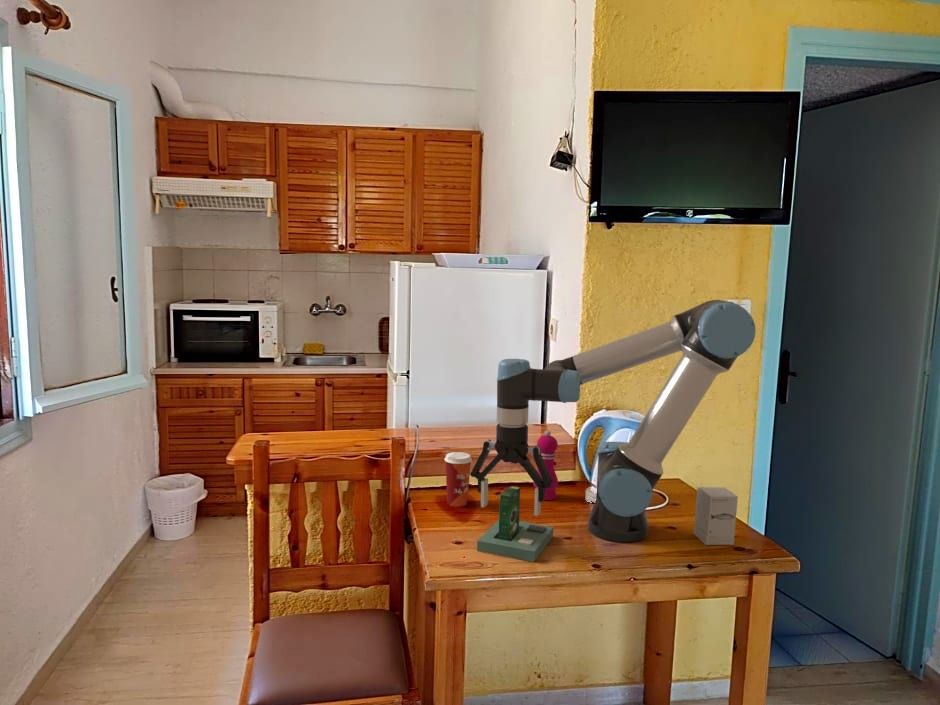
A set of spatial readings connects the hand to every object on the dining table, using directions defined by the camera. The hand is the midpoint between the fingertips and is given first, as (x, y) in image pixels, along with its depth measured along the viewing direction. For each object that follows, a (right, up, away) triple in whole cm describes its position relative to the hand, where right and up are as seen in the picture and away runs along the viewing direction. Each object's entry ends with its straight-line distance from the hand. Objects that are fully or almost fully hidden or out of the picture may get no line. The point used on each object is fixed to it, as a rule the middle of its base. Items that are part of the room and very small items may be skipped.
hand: (510, 509), depth 162 cm
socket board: (+1, -8, 0) cm, 8 cm away
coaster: (+28, -5, +31) cm, 43 cm away
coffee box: (0, -8, +1) cm, 8 cm away
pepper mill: (+12, -4, +34) cm, 36 cm away
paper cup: (-13, -5, +27) cm, 30 cm away
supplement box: (+51, -9, +6) cm, 52 cm away
